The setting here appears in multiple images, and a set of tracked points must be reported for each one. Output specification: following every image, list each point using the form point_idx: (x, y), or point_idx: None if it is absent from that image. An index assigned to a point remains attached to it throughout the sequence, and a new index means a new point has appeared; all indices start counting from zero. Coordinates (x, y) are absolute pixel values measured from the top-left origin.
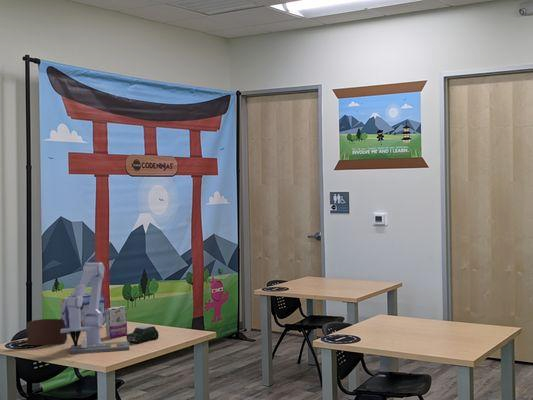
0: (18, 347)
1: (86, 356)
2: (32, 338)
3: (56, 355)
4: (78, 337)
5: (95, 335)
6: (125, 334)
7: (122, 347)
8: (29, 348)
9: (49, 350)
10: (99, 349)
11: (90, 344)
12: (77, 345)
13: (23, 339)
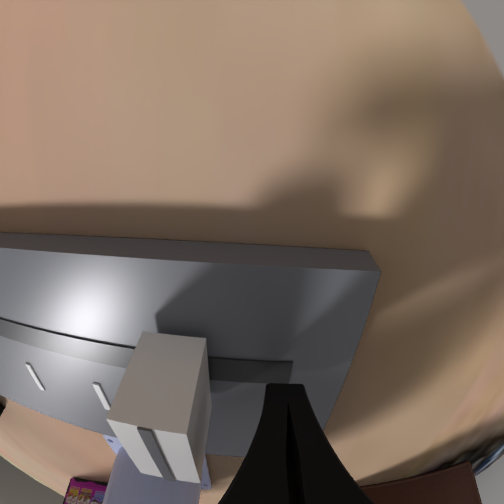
0: (500, 442)
1: (129, 20)
2: (461, 489)
3: (490, 241)
4: (231, 493)
5: (119, 497)
6: (74, 480)
7: None
8: (488, 435)
9: (453, 408)
10: (6, 244)
11: None
12: None
13: None
